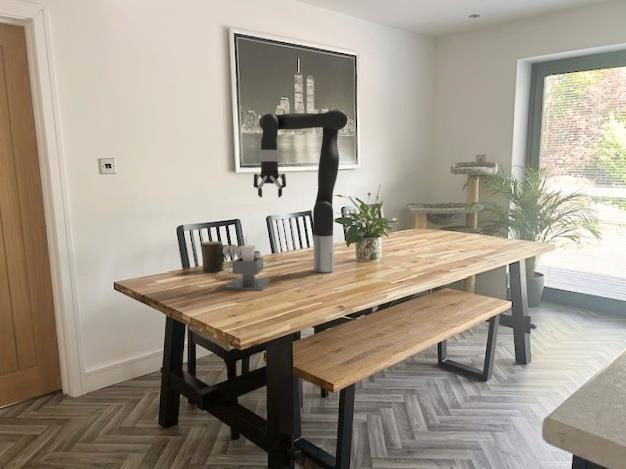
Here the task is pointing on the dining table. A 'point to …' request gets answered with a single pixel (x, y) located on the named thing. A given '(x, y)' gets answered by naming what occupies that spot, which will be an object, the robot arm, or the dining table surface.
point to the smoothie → (247, 252)
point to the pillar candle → (212, 256)
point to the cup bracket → (247, 275)
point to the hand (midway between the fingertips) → (270, 197)
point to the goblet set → (233, 250)
